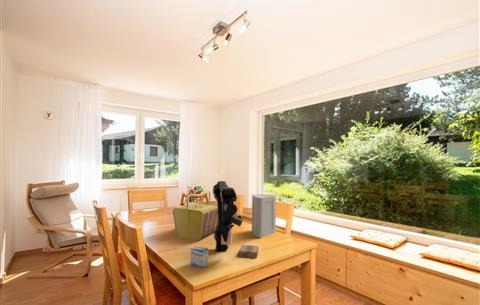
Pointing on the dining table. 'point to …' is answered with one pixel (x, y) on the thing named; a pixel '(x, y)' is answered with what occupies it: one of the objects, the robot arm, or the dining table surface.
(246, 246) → the walnut base
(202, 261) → the medicine box
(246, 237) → the dining table surface
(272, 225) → the grey upright carton
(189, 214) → the picnic basket
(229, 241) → the terracotta block
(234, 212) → the robot arm
